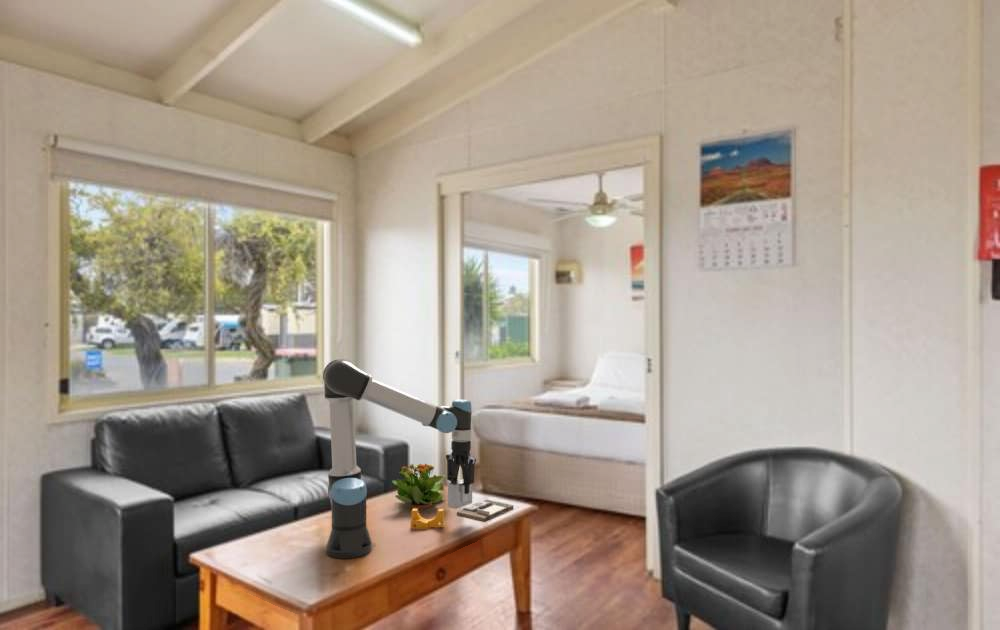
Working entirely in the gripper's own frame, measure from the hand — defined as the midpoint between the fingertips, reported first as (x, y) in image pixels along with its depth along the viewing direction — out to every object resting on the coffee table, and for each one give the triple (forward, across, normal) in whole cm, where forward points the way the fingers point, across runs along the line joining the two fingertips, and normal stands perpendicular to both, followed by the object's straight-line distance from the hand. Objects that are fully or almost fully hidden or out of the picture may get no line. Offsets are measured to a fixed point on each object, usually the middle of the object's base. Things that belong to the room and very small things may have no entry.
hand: (460, 500), depth 236 cm
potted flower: (+10, -28, +8) cm, 31 cm away
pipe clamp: (+10, -8, -10) cm, 16 cm away
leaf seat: (+7, +3, +18) cm, 19 cm away
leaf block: (+2, 0, 0) cm, 2 cm away
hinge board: (+9, -1, +18) cm, 20 cm away
